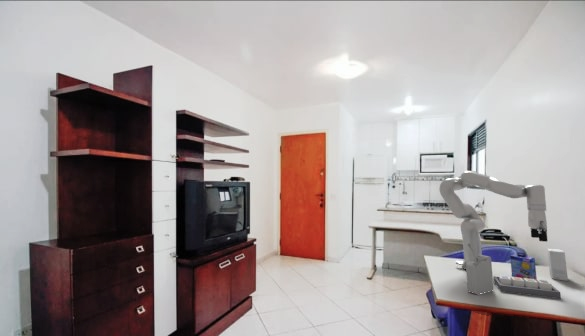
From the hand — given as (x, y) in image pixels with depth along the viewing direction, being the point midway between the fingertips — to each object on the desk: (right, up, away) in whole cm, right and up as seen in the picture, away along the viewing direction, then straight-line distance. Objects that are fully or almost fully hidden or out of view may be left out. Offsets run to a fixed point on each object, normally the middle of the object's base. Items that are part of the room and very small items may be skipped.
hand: (539, 239), depth 142 cm
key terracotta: (-17, -22, -6) cm, 28 cm away
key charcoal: (-8, -21, -11) cm, 25 cm away
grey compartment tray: (-15, -24, -7) cm, 29 cm away
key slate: (-22, -22, -4) cm, 31 cm away
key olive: (-12, -22, -8) cm, 26 cm away
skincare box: (+17, -24, +7) cm, 30 cm away
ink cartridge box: (-1, -25, +8) cm, 26 cm away
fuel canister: (-39, -25, -9) cm, 47 cm away
